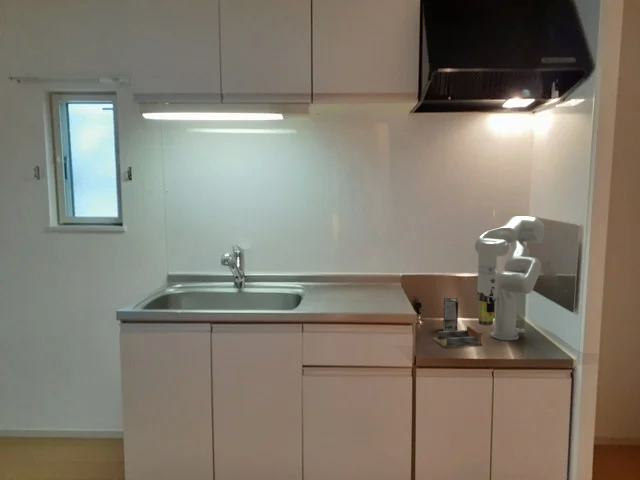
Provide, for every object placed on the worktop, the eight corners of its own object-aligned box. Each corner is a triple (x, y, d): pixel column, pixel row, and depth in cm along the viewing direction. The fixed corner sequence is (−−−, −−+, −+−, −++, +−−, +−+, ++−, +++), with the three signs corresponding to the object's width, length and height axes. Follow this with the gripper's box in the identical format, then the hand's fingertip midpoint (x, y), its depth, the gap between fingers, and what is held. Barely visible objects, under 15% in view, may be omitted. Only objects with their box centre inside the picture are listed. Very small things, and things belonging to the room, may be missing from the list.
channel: (469, 337, 225) (469, 325, 225) (481, 345, 213) (482, 333, 213) (433, 339, 222) (433, 327, 222) (444, 347, 210) (444, 335, 210)
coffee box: (457, 334, 229) (458, 302, 227) (443, 334, 230) (444, 301, 229) (456, 329, 238) (457, 297, 236) (442, 328, 239) (443, 297, 237)
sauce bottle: (492, 327, 205) (493, 282, 202) (477, 325, 208) (478, 280, 205) (494, 323, 210) (495, 279, 207) (479, 321, 213) (480, 277, 210)
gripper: (506, 273, 198) (504, 314, 200) (485, 265, 215) (484, 304, 217) (489, 274, 196) (488, 316, 199) (469, 266, 213) (468, 305, 216)
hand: (486, 309), depth 208 cm, fingers closed on sauce bottle, 6 cm apart
